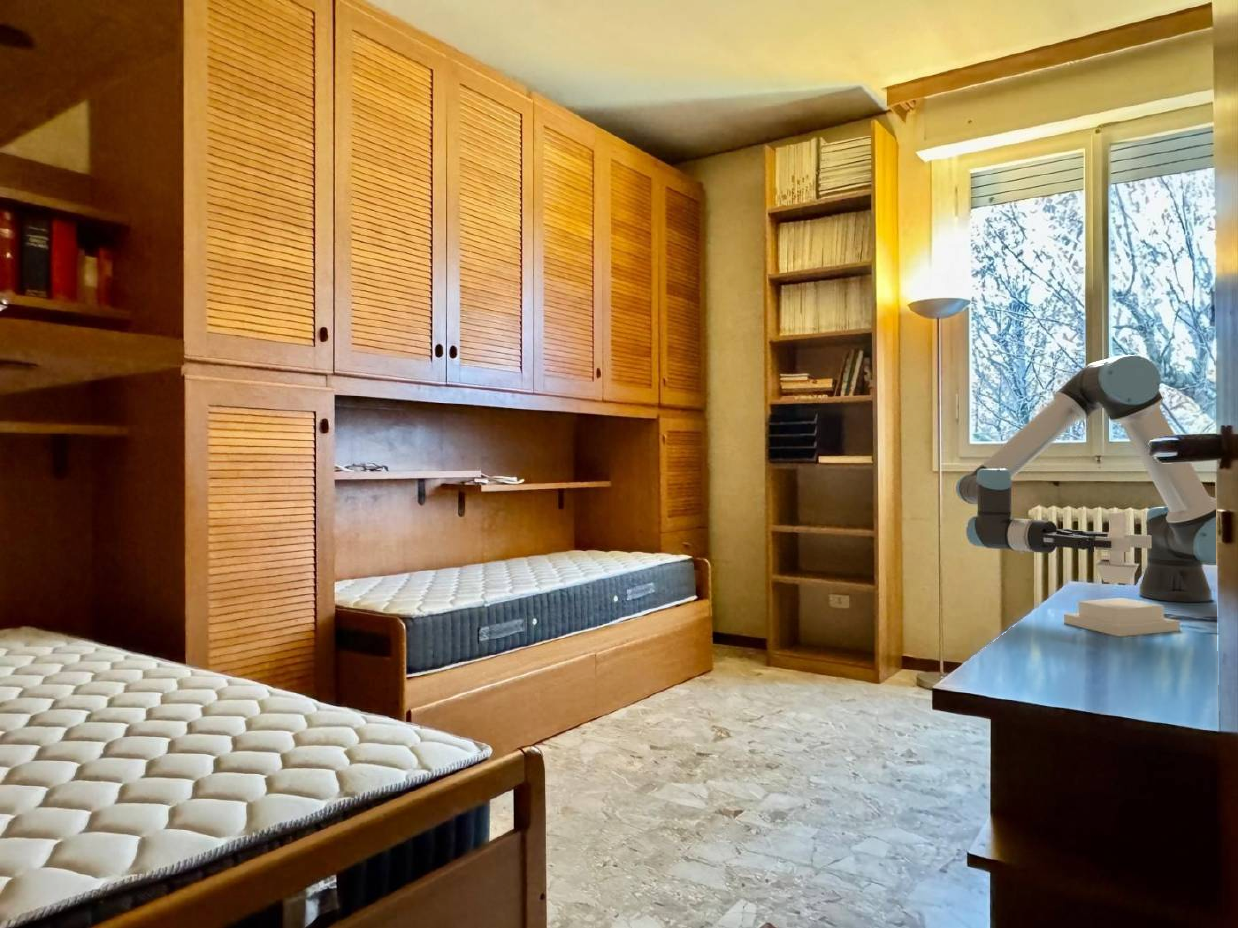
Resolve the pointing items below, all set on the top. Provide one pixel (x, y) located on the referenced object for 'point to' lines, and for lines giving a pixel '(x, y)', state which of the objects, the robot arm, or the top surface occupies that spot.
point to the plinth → (1121, 617)
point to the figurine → (1117, 554)
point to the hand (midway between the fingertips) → (1140, 543)
